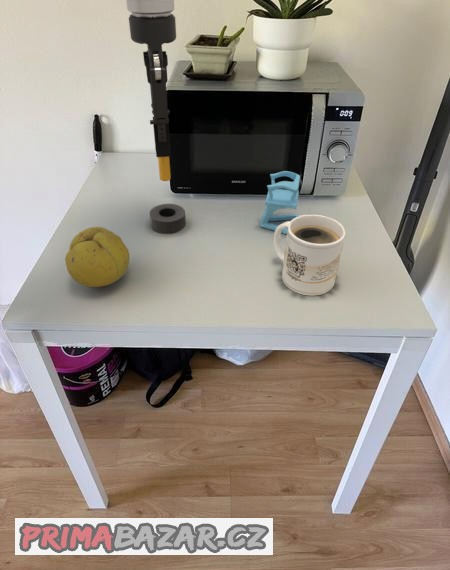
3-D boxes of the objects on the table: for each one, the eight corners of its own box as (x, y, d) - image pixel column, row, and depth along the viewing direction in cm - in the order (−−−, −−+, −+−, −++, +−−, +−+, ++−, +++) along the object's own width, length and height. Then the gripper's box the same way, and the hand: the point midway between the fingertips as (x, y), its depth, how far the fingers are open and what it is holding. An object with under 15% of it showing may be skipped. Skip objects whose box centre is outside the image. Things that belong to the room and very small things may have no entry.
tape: (151, 235, 93) (150, 223, 91) (150, 216, 99) (148, 204, 97) (187, 232, 94) (186, 220, 92) (183, 214, 100) (183, 202, 98)
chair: (262, 214, 101) (266, 164, 93) (299, 218, 99) (306, 168, 92) (257, 232, 95) (261, 180, 87) (296, 236, 94) (304, 185, 86)
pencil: (160, 181, 89) (153, 104, 79) (159, 176, 91) (152, 101, 81) (171, 180, 89) (165, 104, 80) (170, 175, 91) (164, 100, 81)
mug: (285, 298, 78) (292, 247, 71) (270, 259, 87) (274, 209, 80) (342, 293, 80) (354, 242, 73) (321, 254, 89) (330, 206, 82)
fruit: (138, 262, 86) (132, 218, 79) (124, 302, 77) (116, 256, 70) (82, 259, 86) (72, 215, 80) (61, 299, 77) (47, 253, 71)
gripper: (179, 21, 66) (186, 168, 81) (171, 5, 78) (178, 137, 93) (128, 22, 65) (145, 171, 80) (127, 6, 77) (142, 139, 92)
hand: (163, 152), depth 86 cm, fingers closed on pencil, 2 cm apart
